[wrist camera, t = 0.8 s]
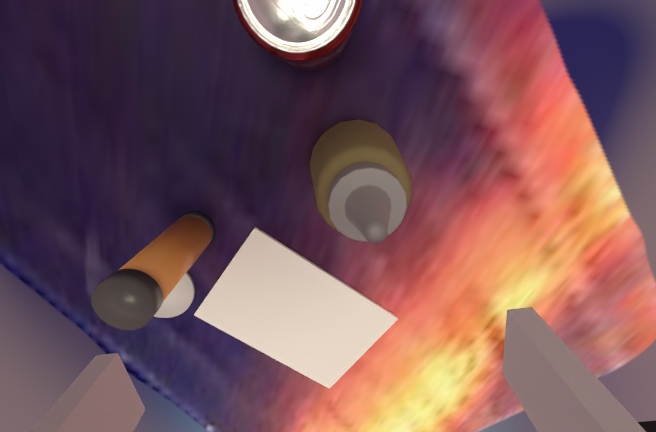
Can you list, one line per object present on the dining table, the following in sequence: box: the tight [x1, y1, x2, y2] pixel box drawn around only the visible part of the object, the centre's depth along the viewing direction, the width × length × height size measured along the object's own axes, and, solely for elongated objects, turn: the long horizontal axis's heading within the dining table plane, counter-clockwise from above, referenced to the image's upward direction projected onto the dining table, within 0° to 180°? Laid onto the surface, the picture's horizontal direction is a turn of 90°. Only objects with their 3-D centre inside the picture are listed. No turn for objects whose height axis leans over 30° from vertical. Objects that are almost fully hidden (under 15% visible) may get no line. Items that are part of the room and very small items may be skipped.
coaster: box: [154, 271, 195, 318], centre depth 38 cm, size 8×8×1 cm
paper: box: [194, 227, 398, 389], centre depth 39 cm, size 20×14×1 cm
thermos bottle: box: [91, 212, 215, 330], centre depth 29 cm, size 4×4×14 cm
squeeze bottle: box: [310, 119, 412, 243], centre depth 24 cm, size 8×8×18 cm
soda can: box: [233, 0, 362, 71], centre depth 23 cm, size 7×7×12 cm
